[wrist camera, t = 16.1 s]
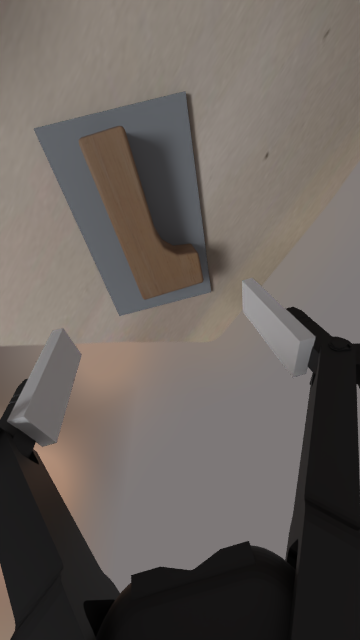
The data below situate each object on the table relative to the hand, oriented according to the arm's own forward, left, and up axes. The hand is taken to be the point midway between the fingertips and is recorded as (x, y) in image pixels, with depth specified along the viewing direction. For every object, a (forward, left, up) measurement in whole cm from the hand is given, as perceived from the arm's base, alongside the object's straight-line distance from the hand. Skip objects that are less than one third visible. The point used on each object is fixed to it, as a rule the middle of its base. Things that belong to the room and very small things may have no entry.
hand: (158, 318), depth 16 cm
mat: (-2, 0, -19) cm, 19 cm away
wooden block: (+6, +2, -16) cm, 17 cm away
